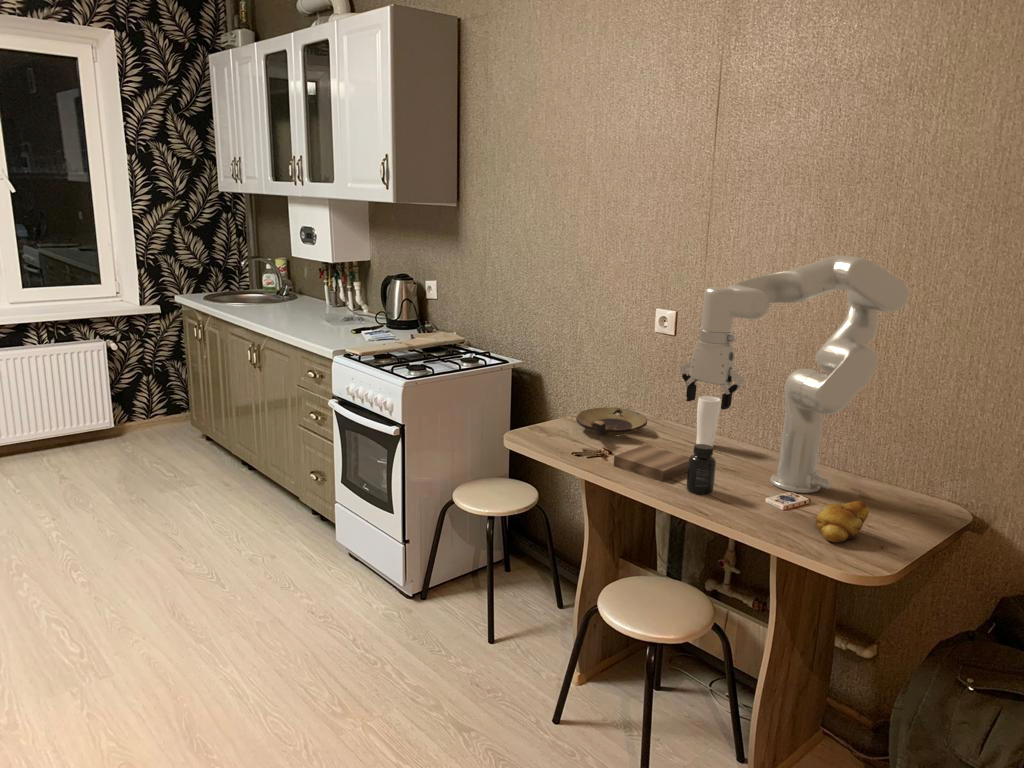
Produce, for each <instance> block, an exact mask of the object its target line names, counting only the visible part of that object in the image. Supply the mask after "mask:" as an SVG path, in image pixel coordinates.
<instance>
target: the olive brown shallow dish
mask: <svg viewBox="0 0 1024 768" xmlns="http://www.w3.org/2000/svg"><path fill="white" fill-rule="evenodd" d="M575 420H576V423H577V424H578V425H579V426H581V427H583V428H584V429H586V430H588V431H590V432H592V433H594V434H595V433H596V436H597V437H599V438H603V437H605V436H609V437H610V436H611V437H612V436H613V437H614V436H623V435H627V434H631V433H633V432H636V431H637V430H639V429H641V428H643V427H645V426H647V424H648V419H647V416H645V415H644V414H642V413H639V412H638V411H635V410H633V409H629V408H621V407H615V406H614V407H595V408H589V409H586V410H582V411H580V413H578V414H577V415H576V418H575Z"/></svg>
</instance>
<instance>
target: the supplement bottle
mask: <svg viewBox="0 0 1024 768" xmlns="http://www.w3.org/2000/svg"><path fill="white" fill-rule="evenodd" d="M713 451H714V446H710V445H706V444H694V445H693V451H692V452H693V454H692V455H690V456H689V457H690V458H689V464H688V471H687V475H686V476H687V477H686V490H687V491H688V492H689V493H692V494H695V495H700V496H701V495H702V496H703V495H704V496H706V495H710V494H712V493H713V492H714V487H715V486H714V485H715V477H716V476H715V475H716V468H717V467H716V465H717V460H716V458H715V457H714V456H713V455H714V452H713Z"/></svg>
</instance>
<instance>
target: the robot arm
mask: <svg viewBox="0 0 1024 768" xmlns="http://www.w3.org/2000/svg"><path fill="white" fill-rule="evenodd" d="M835 291H846V298H847V313H846V317H845V319H844V320H843V322H842V323H841V324H840V325H839V326H838V328H837V329H836V330H835V331H834V333H832V335H831V336H830V337H829V338H828V339H827V340H826V341H825V342H824V343H823V344H822V346H821V347H820V348H819V350H818V351H817V353H816V356H815V363H816V365H817V366H818V367H819V369H821V370H822V371H823V372H825V373H823V372H820V371H818V370H815V369H811V368H798V369H796V370H794V371H792V372H791V373H790V374H789V375H788V377H787V379H786V381H785V384H784V401H785V402H784V403H785V404H784V406H785V407H784V409H785V410H784V411H785V412H784V421H783V428H782V436H781V444H780V451H779V459H778V466H777V467H778V468H777V473H773V474H772V475H771V476H770V483H771V484H772V485H773V486H775V487H777V488H779V489H782V490H785V491H789V492H793V493H800V494H801V493H802V494H809V493H810V494H811V493H815V492H818V491H820V490H821V488H823V489H827V490H830V487H831V481H830V479H828V478H825V477H821V476H820V471H819V470H817V468H818V461H819V460H818V459H819V454H820V447H821V446H820V445H821V439H822V432H823V425H824V417H823V416H824V415H826V416H827V415H828V416H832V415H836V414H838V413H840V412H842V411H843V410H844V409H845V408H847V406H848V405H849V404H850V403H851V402H852V401H853V400H854V398H855V397H856V396H857V395H858V394H859V393H860V392H861V391H862V390H863V388H864V387H865V386H866V385H867V384H868V383H869V382H870V380H871V379H872V377H873V376H874V375H875V372H876V371H877V366H878V357H877V354H876V352H875V351H874V349H872V348H871V347H869V345H870V344H871V342H872V341H873V340H874V339H875V337H876V335H877V332H878V329H879V312H883V313H896V312H898V311H900V310H902V309H903V308H904V307H905V306H906V305H907V304H908V301H909V296H910V292H909V291H910V290H909V288H908V285H907V284H906V283H905V282H904V281H903V280H902V279H901V278H899V277H898V276H896V275H894V274H893V273H891V272H889V271H888V270H886V269H884V268H883V267H881V266H880V265H878V264H876V263H874V262H873V261H871V260H869V259H867V258H864V257H860V256H859V257H858V256H852V255H851V256H850V255H844V254H843V255H842V254H841V255H838V254H837V255H833V256H829V257H826V258H822V259H821V260H818V261H814V262H811V263H808V264H805V265H802V266H799V267H796V268H793V269H789V270H783V271H777V272H772V273H768V274H762V275H758V276H754V277H751V278H747V279H745V280H741V281H738V282H735V283H732V284H731V285H728V286H727V287H723V286H710V287H707V288H706V289H705V291H704V295H703V303H702V311H701V320H700V322H701V323H700V329H699V339H698V340H696V343H695V345H694V349H693V352H692V357H691V362H688V363H686V364H683V365H681V366H680V367H679V370H680V372H681V373H680V374H681V377H682V379H683V381H684V382H685V385H686V393H685V394H686V395H685V396H686V401H687V402H692V401H695V400H696V396H697V384H696V383H697V382H703V383H708V384H710V385H711V384H712V385H717V386H721V388H722V391H723V392H724V393H722V395H721V405H720V410H722V411H723V410H724V411H725V410H727V409H729V408H730V407H731V405H732V397H733V393H735V392H736V391H738V390H739V389H740V388H741V386H742V384H743V383H744V382H745V378H744V377H743V376H742V375H741V374H739V372H737V371H736V370H735V366H736V365H735V362H736V361H735V360H736V359H735V347H734V344H731V343H732V342H736V340H737V336H734V335H733V325H734V319H735V318H740V319H745V320H758V319H759V320H760V319H761V318H763V317H764V316H766V315H767V313H769V311H770V308H771V304H773V303H774V304H775V303H778V304H779V303H780V304H782V303H785V304H793V303H802V302H806V301H810V300H811V299H814V298H818V297H821V296H824V295H826V294H830V293H833V292H835ZM689 369H690V370H689ZM689 371H690V372H689ZM826 373H828V374H826ZM734 380H735V382H734ZM733 382H734V384H732V383H733Z"/></svg>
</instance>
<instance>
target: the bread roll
mask: <svg viewBox="0 0 1024 768" xmlns="http://www.w3.org/2000/svg"><path fill="white" fill-rule="evenodd" d="M869 513H870V509H869V507H868V505H867V504H866V503H865V502H863V501H862V500H861V501H860V500H858V501H857V500H856V501H855V500H854V501H851V502H847V503H845V504H843V505H842V504H841V503H830V504H829V503H827V504H826V505H825V506H824V507H822V509H821V510H820V511H819V513H818V514H817V516H816V517H815V518H816V519H815V520H816V521H815V525H816V528H817V530H818V531H819V533H821V535H822V536H823V538H824V539H825V540H826V541H830V542H832V543H844V542H846V540H850V539H854V538H856V537H858V536H859V534H860V533H861V532H860V531H861V530H862V528H863V526H864V525H863V524H864V523H865V522H866V520H867V518H868V516H869Z"/></svg>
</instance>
